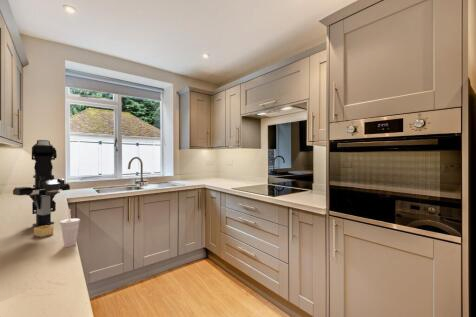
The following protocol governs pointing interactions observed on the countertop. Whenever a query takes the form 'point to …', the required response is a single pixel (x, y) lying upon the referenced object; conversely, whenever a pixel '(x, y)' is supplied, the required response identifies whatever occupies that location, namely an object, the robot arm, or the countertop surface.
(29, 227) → the countertop surface
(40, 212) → the plug
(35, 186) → the robot arm
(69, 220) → the smoothie
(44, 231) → the socket block
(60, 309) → the countertop surface
